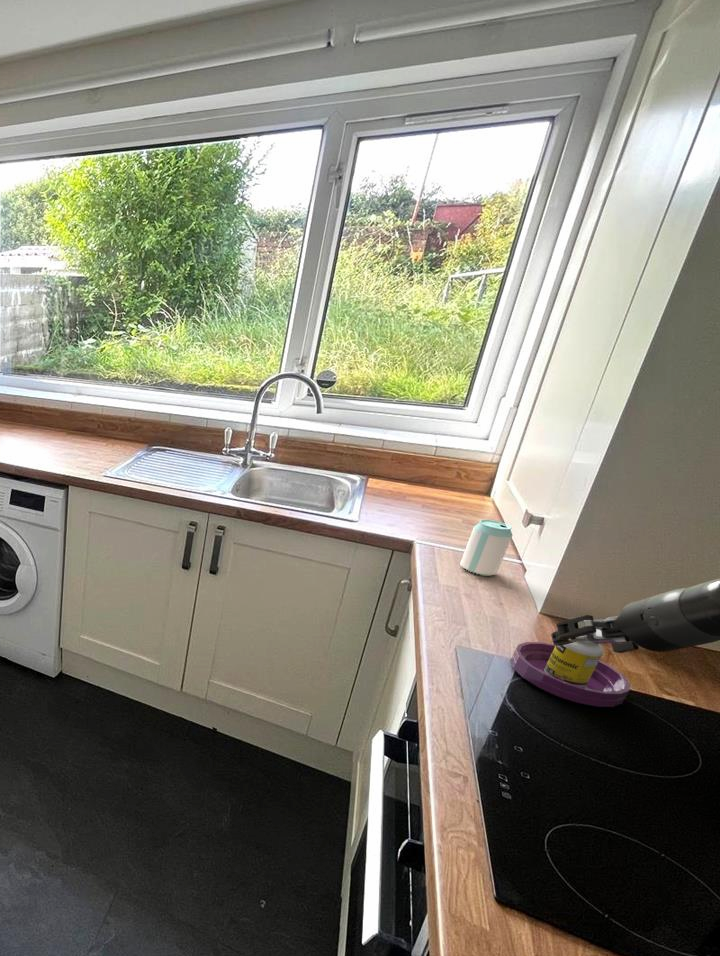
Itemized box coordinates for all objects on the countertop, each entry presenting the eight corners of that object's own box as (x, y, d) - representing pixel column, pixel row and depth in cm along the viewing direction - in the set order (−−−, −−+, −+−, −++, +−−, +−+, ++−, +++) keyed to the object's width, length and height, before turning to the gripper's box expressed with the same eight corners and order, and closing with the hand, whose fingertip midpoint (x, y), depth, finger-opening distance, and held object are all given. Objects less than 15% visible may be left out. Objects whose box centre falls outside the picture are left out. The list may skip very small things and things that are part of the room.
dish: (640, 698, 95) (649, 682, 94) (589, 718, 90) (598, 702, 89) (540, 650, 107) (547, 635, 106) (490, 665, 102) (497, 650, 101)
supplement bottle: (534, 669, 100) (557, 621, 97) (562, 668, 101) (586, 620, 97) (565, 689, 95) (591, 639, 92) (594, 688, 96) (621, 638, 92)
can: (469, 562, 142) (486, 516, 138) (502, 574, 136) (521, 527, 132) (453, 567, 139) (470, 520, 135) (486, 579, 133) (505, 532, 129)
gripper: (730, 599, 81) (628, 626, 96) (612, 587, 83) (531, 615, 98) (748, 653, 78) (640, 672, 93) (625, 638, 80) (539, 659, 95)
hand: (584, 643), depth 95 cm, fingers open, 8 cm apart
